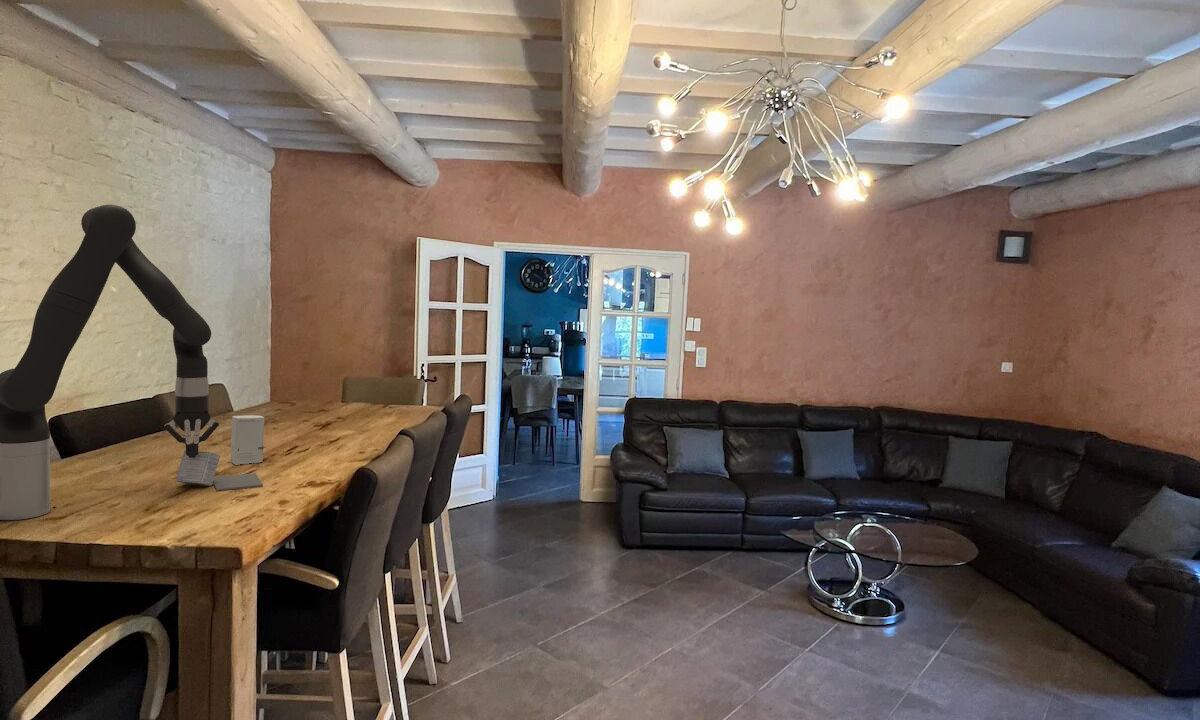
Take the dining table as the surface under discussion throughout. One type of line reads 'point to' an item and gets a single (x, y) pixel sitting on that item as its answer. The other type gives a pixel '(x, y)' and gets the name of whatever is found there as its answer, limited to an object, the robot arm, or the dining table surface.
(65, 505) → the dining table surface
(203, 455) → the medicine box
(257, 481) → the rubber mat
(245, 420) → the skincare box
